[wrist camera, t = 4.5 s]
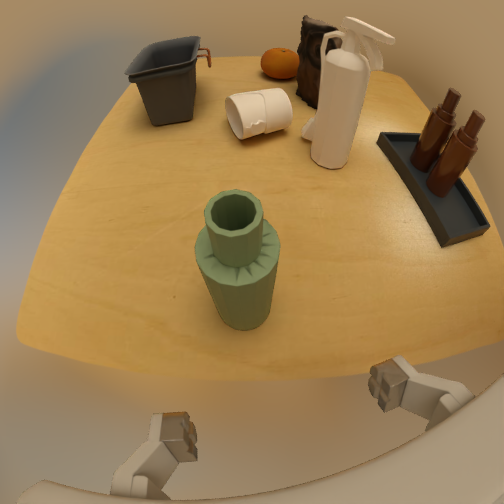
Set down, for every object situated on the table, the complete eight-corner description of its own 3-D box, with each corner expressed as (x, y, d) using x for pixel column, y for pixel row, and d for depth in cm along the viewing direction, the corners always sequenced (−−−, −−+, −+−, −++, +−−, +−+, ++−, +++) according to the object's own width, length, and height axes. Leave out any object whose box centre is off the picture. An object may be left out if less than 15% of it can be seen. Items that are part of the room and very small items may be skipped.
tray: (482, 234, 36) (490, 226, 34) (441, 247, 35) (450, 238, 33) (421, 142, 48) (426, 133, 45) (376, 142, 46) (380, 132, 44)
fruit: (305, 84, 58) (308, 57, 51) (263, 84, 57) (263, 56, 50) (295, 69, 63) (297, 44, 56) (258, 69, 62) (258, 44, 55)
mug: (292, 138, 46) (296, 101, 39) (244, 150, 44) (242, 111, 37) (265, 107, 51) (266, 75, 44) (222, 116, 50) (219, 83, 43)
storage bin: (155, 90, 58) (144, 44, 45) (214, 81, 59) (210, 32, 46) (139, 137, 48) (119, 77, 35) (215, 124, 48) (208, 59, 36)
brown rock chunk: (332, 118, 50) (348, 32, 32) (278, 100, 53) (282, 18, 35) (347, 97, 55) (362, 25, 37) (300, 81, 58) (306, 12, 41)
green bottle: (275, 324, 30) (298, 245, 15) (223, 335, 30) (187, 267, 14) (263, 277, 33) (270, 168, 18) (214, 287, 33) (179, 184, 17)
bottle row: (451, 196, 39) (496, 127, 24) (435, 198, 39) (482, 123, 23) (422, 154, 44) (454, 85, 29) (404, 154, 44) (436, 81, 29)
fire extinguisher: (316, 130, 48) (334, 8, 26) (361, 168, 43) (404, 35, 21) (288, 140, 46) (300, 7, 24) (335, 181, 41) (375, 32, 19)
